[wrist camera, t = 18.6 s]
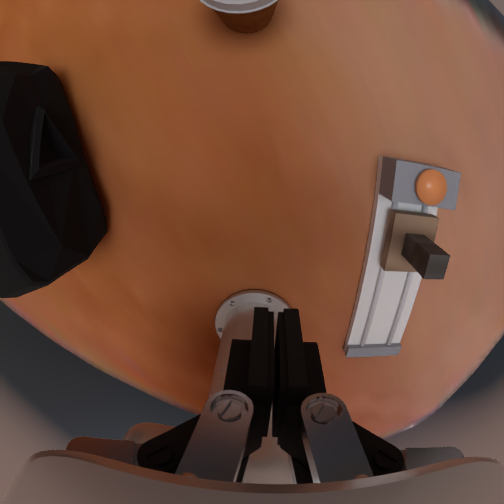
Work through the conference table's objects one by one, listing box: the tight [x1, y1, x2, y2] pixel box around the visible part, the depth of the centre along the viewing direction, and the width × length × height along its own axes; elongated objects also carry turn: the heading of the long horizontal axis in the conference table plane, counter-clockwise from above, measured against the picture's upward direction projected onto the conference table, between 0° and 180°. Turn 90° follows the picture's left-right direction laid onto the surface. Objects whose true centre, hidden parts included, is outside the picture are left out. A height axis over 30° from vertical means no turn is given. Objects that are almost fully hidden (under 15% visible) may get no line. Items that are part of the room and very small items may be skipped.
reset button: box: [415, 169, 447, 206], centre depth 30 cm, size 4×4×2 cm
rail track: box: [343, 155, 461, 357], centre depth 38 cm, size 32×10×6 cm, turn 178°
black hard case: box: [0, 61, 107, 298], centre depth 28 cm, size 30×12×20 cm, turn 18°
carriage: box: [380, 209, 450, 279], centre depth 32 cm, size 8×7×9 cm
